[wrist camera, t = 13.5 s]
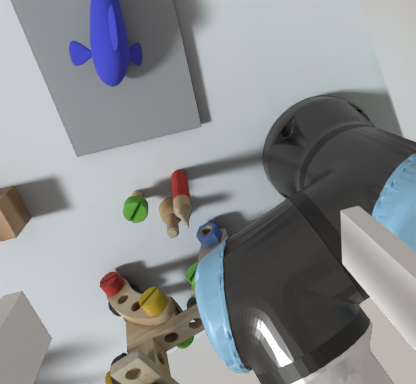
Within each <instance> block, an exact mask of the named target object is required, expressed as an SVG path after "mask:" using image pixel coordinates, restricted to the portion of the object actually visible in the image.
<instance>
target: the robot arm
mask: <svg viewBox="0 0 416 384" xmlns="http://www.w3.org/2000/svg"><path fill="white" fill-rule="evenodd" d="M263 165H264V170H265V173H266V175H267V178H268V179H269V181H270V182H271V184H272V185H273V186H274V188H275V189H276V190H277V191H278V192H279V193H280V194H281V195H282V196H284V197H285V198H286V200H284V201H283V202H281V203H280V204H279V205H277V206H276V207H274V208H273V209H271V210H270V211H268V212H267V213H266V214H264V215H263V216H261V217H260V218H258V219H257V220H256V221H254V222H253V223H251V224H250V225H248V226H247V227H245V228H244V229H242V230H241V231H239V232H238V233H236V234H235V235H233V236H232V237H231V236H228V237H226V238H225V239H224V240H223V242H222V243H221V244H220V245H219V246H217V247H216V248H215V249H213V250H212V251H211V252H210V253H208V254H207V255H206V256H204V257H203V258H202V259H201V261H200V262H199V264H198V266H197V269H196V273H195V295H196V301H197V306H198V310H199V313H200V317H201V320H202V323H203V325H204V328H205V331H206V333H207V335H208V337H209V340H210V342H211V344H212V346H213V347H214V349H215V351H216V352H217V354H218V356H219V357H220V358H221V359H222V360H225V363H226V365H227V366H228V368H230V369H231V370H232V371H234V372H237V373H242V372H244V373H248V372H249V371H251V370H252V369H253V371H254V372H255V374H256V376H257V377H258V379H259V381H260V383H261V384H394V383H393V381H392V380H391V379H390V377H389V376H388V374H387V373H386V372H385V370H384V369H383V367H382V366H381V364H380V363H379V362H378V360H377V359H376V357H375V356H374V355H373V353H372V352H371V350H370V339H371V333H372V323H371V321H370V319H369V318H368V317H367V316H366V314H365V313H364V311H363V310H362V309H361V307H360V306H359V304H360V303H361V302H363V301H364V300H366V299H367V298H369V297H371V298H372V300H373V301H374V302H375V303H376V305H377V306H378V307H379V308H380V309H381V311H382V312H383V313H384V314H385V315H386V317H387V318H388V319H389V320H390V321H391V323H392V324H393V325H394V326H395V327H396V329H397V330H398V331H399V332H400V333H401V334H402V336H403V337H404V338H405V339H406V341H407V342H408V343H409V344H410V345H411V347H412V348H413V349H414V350H415V351H416V142H414V141H411V140H408V139H405V138H403V137H400V136H397V135H395V134H392V133H389V132H387V131H384V130H381V129H378V128H376V127H375V125H374V124H373V123H372V122H371V121H370V120H369V118H368V117H367V115H366V114H365V113H364V112H363V111H362V110H361V109H360V108H359V107H358V106H356V105H354V104H353V103H351V102H349V101H346V100H343V99H340V98H336V97H332V96H317V97H311V98H308V99H305V100H303V101H300V102H298V103H296V104H295V105H293V106H292V107H290V108H289V109H288V110H286V111H285V112H284V113H283V114H282V115H281V116H280V117H279V118H278V119H277V121H276V122H275V123H274V125H273V126H272V128H271V129H270V131H269V133H268V136H267V138H266V141H265V145H264V150H263ZM51 340H52V337H51V336H50V334H49V333H48V331H47V329H46V328H45V326H44V325H43V323H42V321H41V320H40V318H39V317H38V315H37V313H36V312H35V310H34V309H33V307H32V305H31V304H30V302H29V301H28V299H27V297H26V296H25V294H24V293H23V291H21V292H17V293H13V294H9V295H5V296H3V297H2V299H1V300H0V384H34V382H35V380H36V377H37V375H38V372H39V370H40V367H41V365H42V362H43V360H44V357H45V355H46V352H47V350H48V347H49V345H50V342H51Z"/></svg>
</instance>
